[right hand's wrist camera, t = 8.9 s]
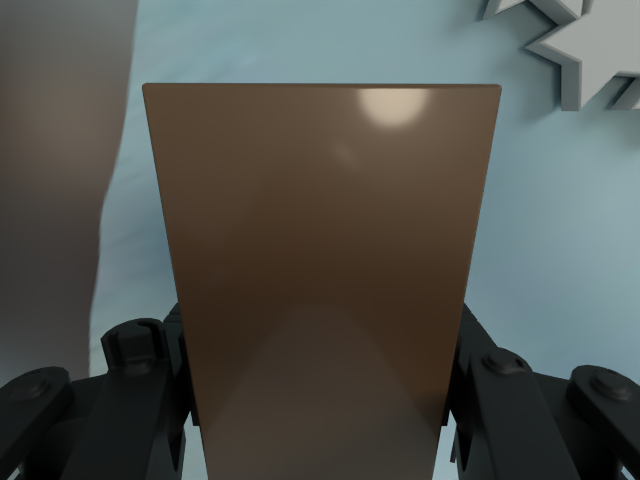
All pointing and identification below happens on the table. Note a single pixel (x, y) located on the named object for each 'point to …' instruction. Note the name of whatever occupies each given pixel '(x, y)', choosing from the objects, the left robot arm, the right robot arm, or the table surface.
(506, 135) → the table surface
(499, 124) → the table surface
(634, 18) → the decorative wreath
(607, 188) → the table surface
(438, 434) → the bar
